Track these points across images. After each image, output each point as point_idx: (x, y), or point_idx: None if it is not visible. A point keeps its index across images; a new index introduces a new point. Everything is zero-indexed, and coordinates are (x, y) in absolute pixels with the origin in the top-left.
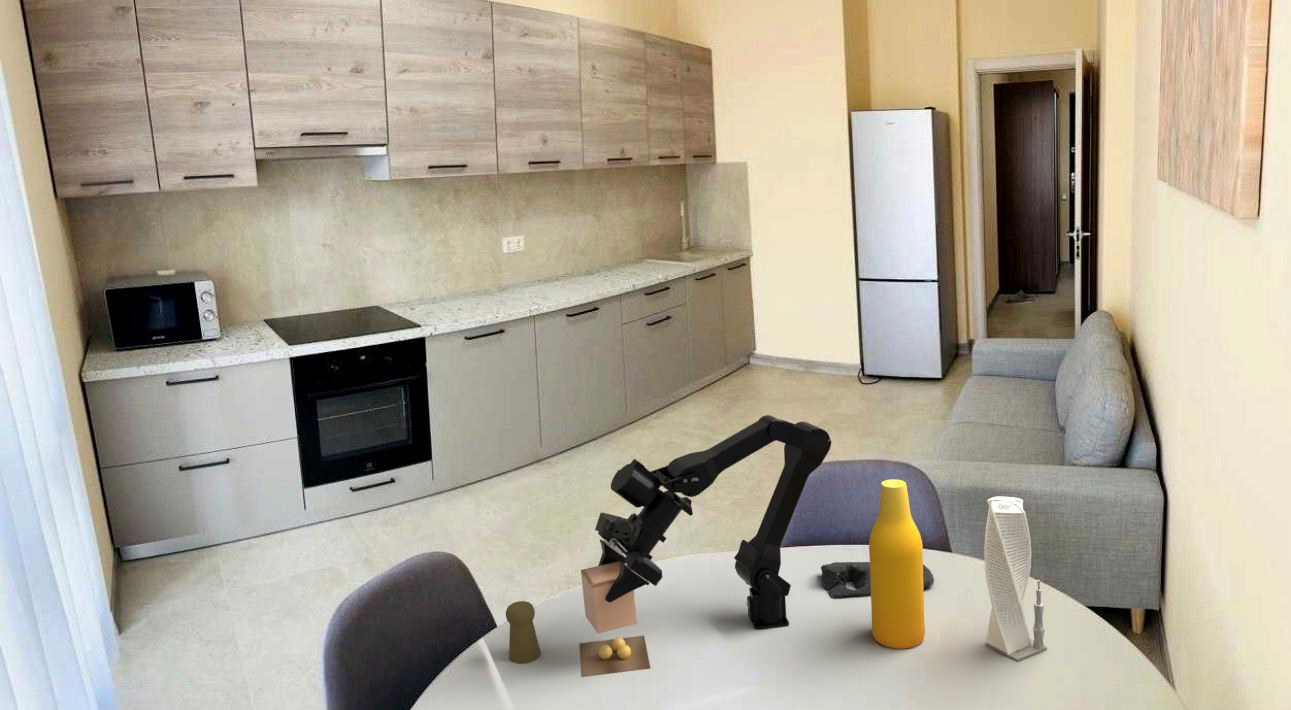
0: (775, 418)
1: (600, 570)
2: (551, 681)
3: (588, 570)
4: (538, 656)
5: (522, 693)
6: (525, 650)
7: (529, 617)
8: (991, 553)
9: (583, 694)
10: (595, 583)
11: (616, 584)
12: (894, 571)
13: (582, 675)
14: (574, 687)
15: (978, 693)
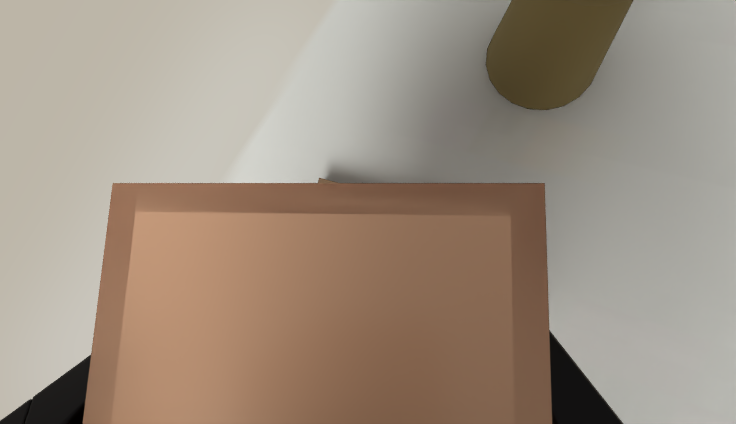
0: None
1: (405, 387)
2: (375, 103)
3: (482, 259)
4: (509, 85)
5: (355, 18)
6: (504, 22)
7: None
8: None
9: (262, 166)
10: (135, 220)
11: (26, 404)
12: None
13: (325, 182)
14: (309, 154)
15: None
